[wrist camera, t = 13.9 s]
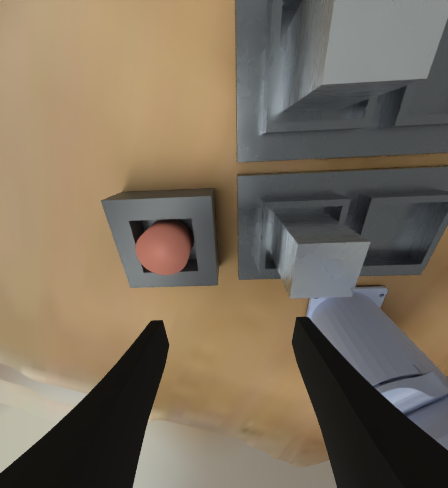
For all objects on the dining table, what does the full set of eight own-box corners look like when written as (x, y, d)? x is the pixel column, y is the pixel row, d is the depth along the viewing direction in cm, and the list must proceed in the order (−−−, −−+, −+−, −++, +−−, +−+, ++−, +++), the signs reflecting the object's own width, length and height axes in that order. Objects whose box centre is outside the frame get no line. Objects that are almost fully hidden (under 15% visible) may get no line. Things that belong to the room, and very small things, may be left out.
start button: (195, 258, 17) (191, 274, 15) (153, 259, 18) (142, 275, 15) (190, 217, 16) (184, 228, 13) (142, 219, 16) (129, 230, 13)
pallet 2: (411, 268, 19) (435, 284, 17) (238, 273, 20) (239, 289, 18) (462, 164, 15) (504, 167, 13) (237, 174, 15) (238, 179, 13)
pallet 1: (469, 150, 15) (513, 150, 12) (236, 161, 15) (238, 163, 13) (571, -59, 10) (670, -118, 8) (234, -33, 11) (237, -82, 8)
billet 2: (313, 251, 18) (351, 296, 12) (270, 253, 18) (289, 298, 12) (321, 210, 16) (370, 241, 10) (273, 212, 16) (297, 244, 10)
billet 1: (341, 108, 13) (427, 78, 7) (281, 111, 13) (321, 84, 7) (357, 23, 11) (488, -100, 5) (287, 28, 11) (347, -88, 6)
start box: (218, 266, 20) (217, 285, 17) (143, 269, 20) (130, 287, 17) (213, 188, 16) (211, 196, 13) (121, 192, 16) (100, 200, 14)
